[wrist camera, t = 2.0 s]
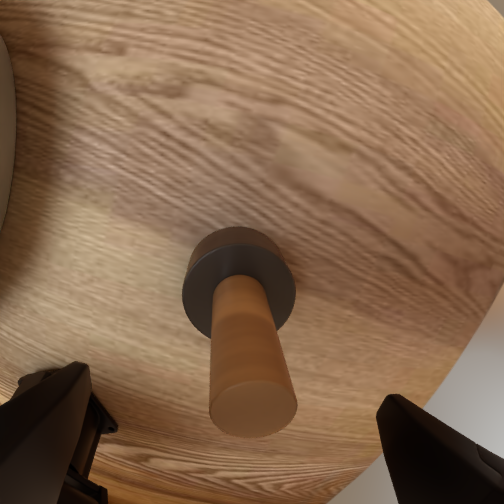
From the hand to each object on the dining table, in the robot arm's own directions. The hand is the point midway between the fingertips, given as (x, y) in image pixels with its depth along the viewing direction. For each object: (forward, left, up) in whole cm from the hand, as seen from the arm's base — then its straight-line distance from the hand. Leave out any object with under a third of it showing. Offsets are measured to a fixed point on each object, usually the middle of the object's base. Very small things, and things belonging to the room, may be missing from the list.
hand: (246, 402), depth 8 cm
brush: (0, 0, -10) cm, 10 cm away
